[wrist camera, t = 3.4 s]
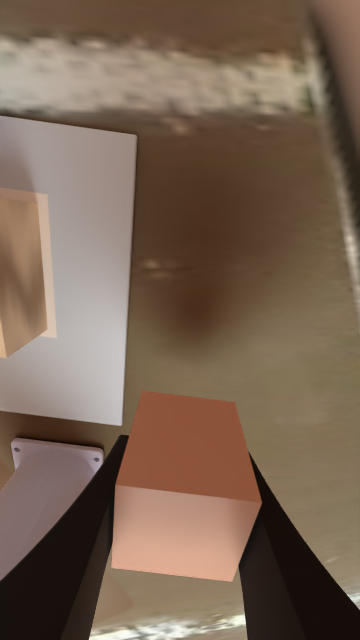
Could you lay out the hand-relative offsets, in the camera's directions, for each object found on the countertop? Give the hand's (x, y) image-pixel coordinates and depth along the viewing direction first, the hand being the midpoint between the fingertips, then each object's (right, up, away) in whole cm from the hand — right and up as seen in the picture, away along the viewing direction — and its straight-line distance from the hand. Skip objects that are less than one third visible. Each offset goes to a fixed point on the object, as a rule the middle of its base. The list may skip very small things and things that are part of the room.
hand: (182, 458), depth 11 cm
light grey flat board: (-11, +8, +5) cm, 15 cm away
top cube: (0, +1, +1) cm, 2 cm away
